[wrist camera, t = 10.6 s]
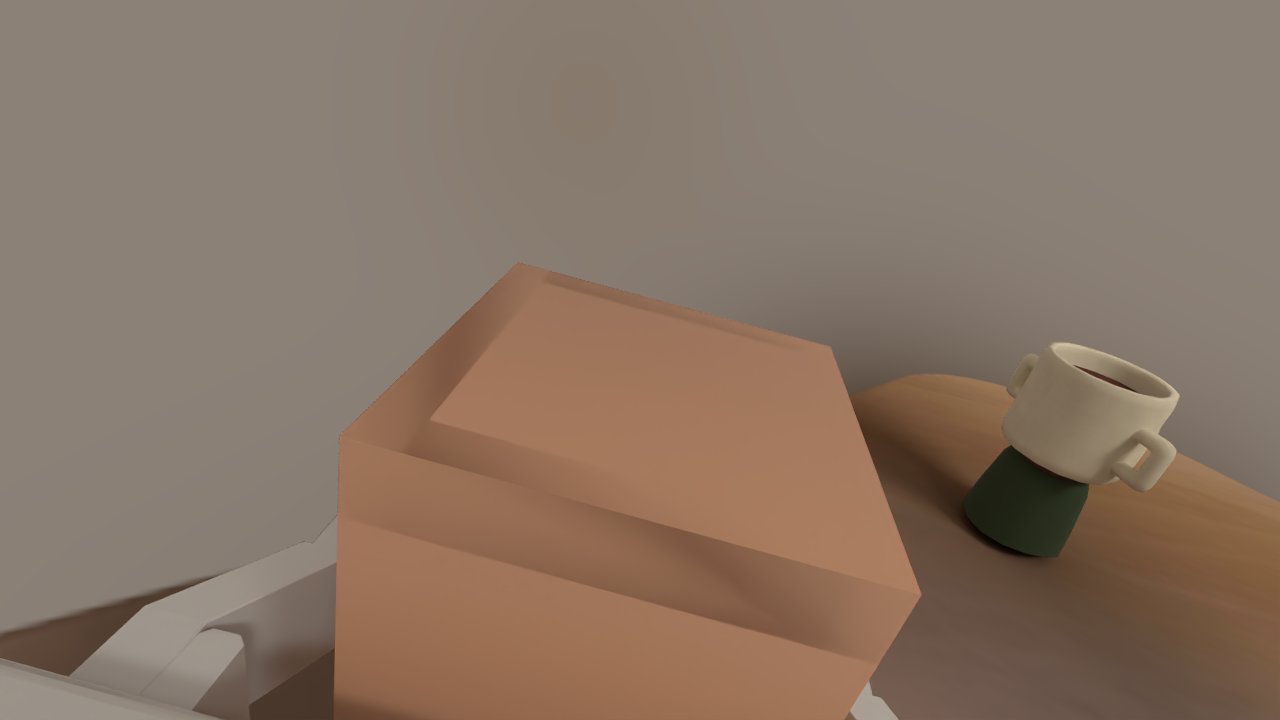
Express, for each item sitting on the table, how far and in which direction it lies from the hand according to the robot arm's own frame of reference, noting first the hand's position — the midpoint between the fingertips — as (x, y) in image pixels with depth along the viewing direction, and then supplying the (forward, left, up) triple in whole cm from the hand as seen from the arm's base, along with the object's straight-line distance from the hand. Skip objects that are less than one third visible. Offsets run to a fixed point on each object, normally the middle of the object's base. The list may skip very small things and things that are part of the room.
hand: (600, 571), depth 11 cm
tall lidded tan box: (+1, +1, -5) cm, 6 cm away
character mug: (-39, +2, -16) cm, 42 cm away
